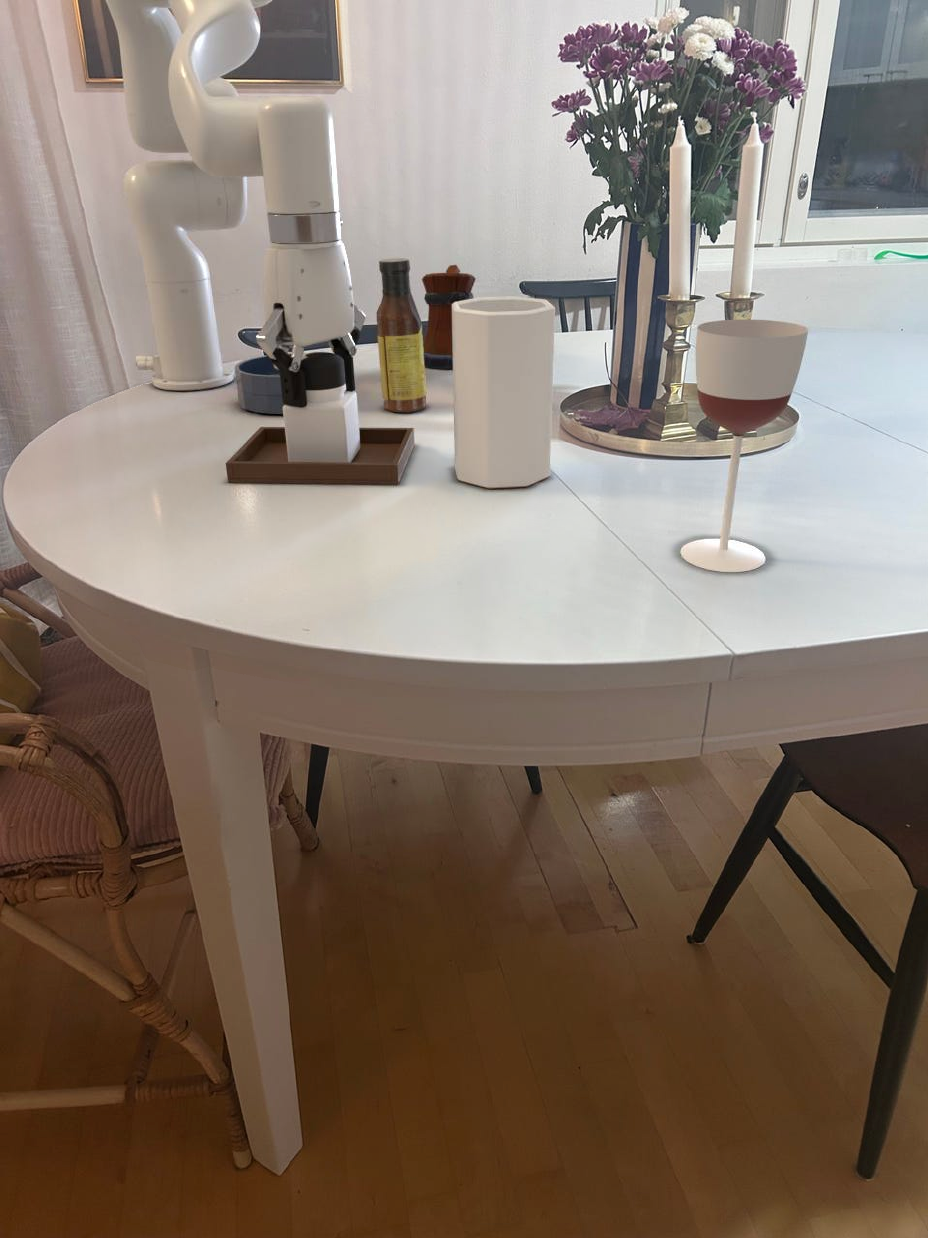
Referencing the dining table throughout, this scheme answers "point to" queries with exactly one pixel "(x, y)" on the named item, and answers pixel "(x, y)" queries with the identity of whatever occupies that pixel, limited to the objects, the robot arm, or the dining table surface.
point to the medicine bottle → (323, 414)
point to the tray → (371, 465)
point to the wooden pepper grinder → (443, 313)
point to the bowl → (259, 386)
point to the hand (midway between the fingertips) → (319, 396)
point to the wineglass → (742, 408)
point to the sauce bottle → (400, 340)
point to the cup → (502, 390)
